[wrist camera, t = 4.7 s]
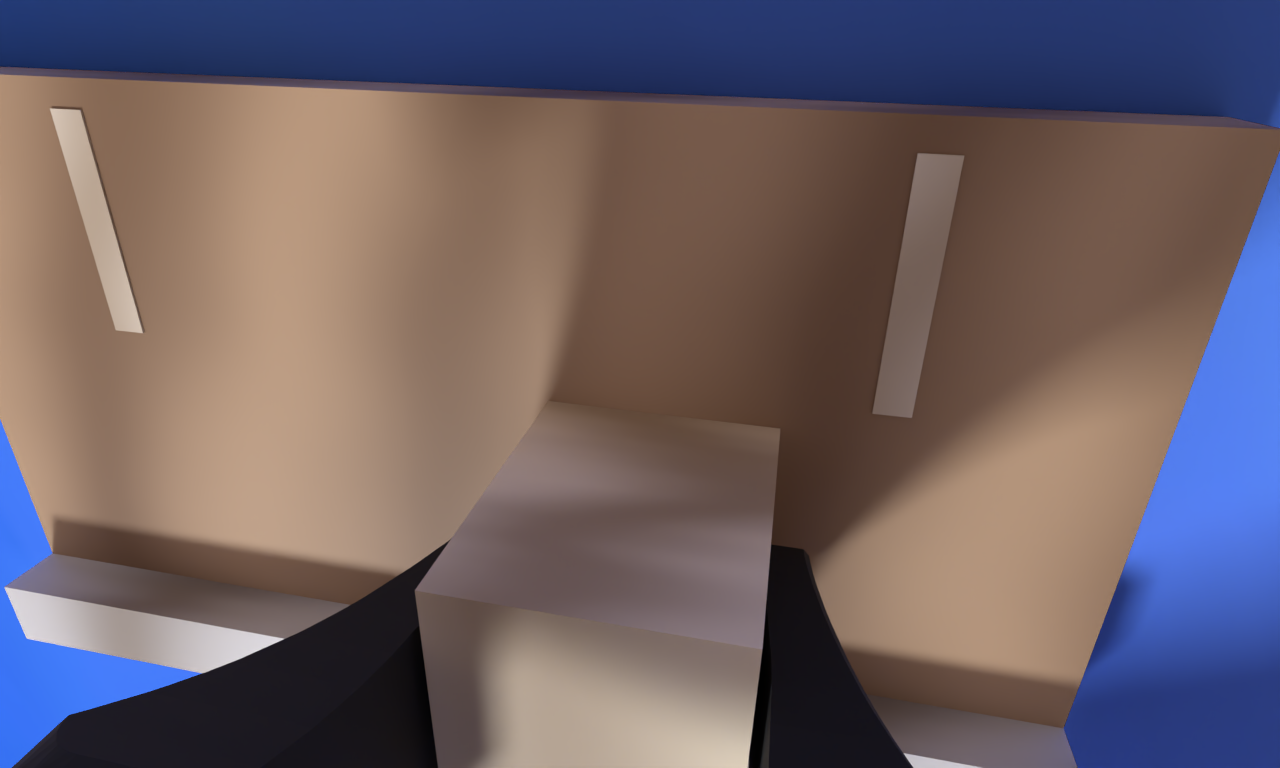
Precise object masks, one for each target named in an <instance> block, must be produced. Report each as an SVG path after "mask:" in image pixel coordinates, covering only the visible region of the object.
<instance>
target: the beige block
mask: <svg viewBox="0 0 1280 768" xmlns="http://www.w3.org/2000/svg"><path fill="white" fill-rule="evenodd" d="M779 441H780V429H779V428H771V427H763V426H754V425H746V424H738V423H729V422H721V421H712V420H704V419H696V418H687V417H679V416H670V415H662V414H654V413H645V412H637V411H628V410H620V409H612V408H603V407H595V406H587V405H578V404H570V403H561V402H553V401H548V402H547V404H546V405H545V407H544V408H543V410H542V411H541V412H540V414H539V415H538V417H537V418H536V419H535V421H534V422H533V424H532V425H531V427H530V428H529V429H528V431H527V432H526V434H525V435H524V436H523V438H522V439H521V441H520V442H519V444H518V445H517V446H516V448H515V449H514V451H513V452H512V453H511V455H510V456H509V458H508V459H507V461H506V462H505V463H504V465H503V466H502V468H501V469H500V470H499V472H498V473H497V475H496V476H495V478H494V479H493V480H492V482H491V483H490V485H489V486H488V487H487V489H486V490H485V492H484V493H483V495H482V496H481V497H480V499H479V500H478V502H477V503H476V504H475V506H474V507H473V509H472V510H471V512H470V513H469V514H468V516H467V517H466V519H465V520H464V521H463V523H462V524H461V526H460V527H459V529H458V530H457V531H456V533H455V534H454V536H453V537H452V538H451V540H450V541H449V543H448V544H447V546H446V547H445V548H444V550H443V551H442V553H441V554H440V555H439V557H438V558H437V560H436V561H435V563H434V564H433V565H432V567H431V568H430V570H429V571H428V572H427V574H426V575H425V577H424V578H423V580H422V581H421V582H420V584H419V585H418V587H417V588H416V589H415V596H416V604H417V611H418V619H419V627H420V634H421V642H422V649H423V657H424V664H425V672H426V680H427V687H428V695H429V702H430V710H431V717H432V725H433V733H434V740H435V748H436V755H437V763H438V768H747V767H748V759H749V751H750V743H751V735H752V728H753V720H754V712H755V704H756V696H757V688H758V680H759V673H760V665H761V657H762V649H763V637H764V624H765V612H766V600H767V588H768V575H769V563H770V551H771V539H772V526H773V514H774V502H775V490H776V478H777V465H778V453H779Z"/></svg>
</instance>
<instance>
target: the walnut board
mask: <svg viewBox="0 0 1280 768" xmlns="http://www.w3.org/2000/svg"><path fill="white" fill-rule="evenodd" d="M1279 151H1280V128H1276V127H1272V126H1267V125H1263V124H1258V123H1253V122H1249V121H1244V120H1240V119H1235V118H1231V117H1216V116H1192V115H1167V114H1143V113H1119V112H1094V111H1070V110H1045V109H1021V108H997V107H972V106H948V105H923V104H899V103H874V102H850V101H826V100H801V99H777V98H752V97H728V96H703V95H679V94H655V93H630V92H606V91H581V90H557V89H533V88H508V87H484V86H459V85H435V84H410V83H386V82H362V81H337V80H313V79H288V78H264V77H239V76H215V75H191V74H166V73H142V72H117V71H93V70H68V69H44V68H20V67H0V419H1V422H2V424H3V427H4V429H5V432H6V435H7V437H8V440H9V442H10V445H11V447H12V450H13V453H14V455H15V458H16V460H17V463H18V465H19V468H20V471H21V473H22V476H23V478H24V481H25V483H26V486H27V488H28V491H29V494H30V496H31V499H32V501H33V504H34V506H35V509H36V512H37V514H38V517H39V519H40V522H41V524H42V527H43V529H44V532H45V535H46V537H47V540H48V542H49V545H50V547H51V550H52V553H53V554H51V555H50V556H48V557H47V558H45V559H44V560H43V561H41V562H40V563H38V564H37V565H35V566H34V567H32V568H31V569H30V570H28V571H27V572H25V573H24V574H22V575H21V576H20V577H18V578H17V579H15V580H14V581H12V582H11V583H9V584H8V585H7V586H5V590H6V592H7V594H8V597H9V599H10V601H11V603H12V606H13V608H14V610H15V613H16V615H17V617H18V620H19V622H20V624H21V626H22V629H23V631H24V633H25V636H26V638H27V639H32V640H37V641H42V642H47V643H52V644H57V645H62V646H67V647H72V648H77V649H82V650H87V651H92V652H97V653H103V654H108V655H113V656H118V657H123V658H128V659H133V660H138V661H143V662H148V663H153V664H158V665H163V666H168V667H173V668H178V669H183V670H189V671H194V672H199V673H205V672H208V671H210V670H213V669H215V668H218V667H221V666H223V665H226V664H228V663H231V662H233V661H236V660H238V659H241V658H243V657H245V656H247V655H250V654H252V653H254V652H256V651H259V650H261V649H263V648H265V647H268V646H270V645H272V644H274V643H277V642H279V641H281V640H283V639H285V638H288V637H290V636H292V635H294V634H297V633H299V632H301V631H303V630H305V629H307V628H309V627H311V626H313V625H314V624H316V623H318V622H320V621H322V620H324V619H326V618H328V617H330V616H332V615H333V614H335V613H337V612H339V611H341V610H343V609H344V608H346V607H348V606H350V605H351V604H353V603H355V602H357V601H358V600H360V599H362V598H363V597H365V596H367V595H368V594H370V593H371V592H373V591H374V590H376V589H378V588H379V587H381V586H382V585H384V584H385V583H387V582H389V581H390V580H392V579H393V578H395V577H396V576H398V575H400V574H401V573H403V572H404V571H406V570H407V569H409V568H411V567H412V566H413V565H415V564H416V563H418V562H419V561H421V560H422V559H423V558H425V557H426V556H428V555H429V554H431V553H432V552H433V551H435V550H436V549H438V548H439V547H440V546H442V545H443V544H445V543H446V542H448V541H449V540H450V539H451V538H452V537H453V536H454V534H455V533H456V531H457V530H458V529H459V527H460V526H461V524H462V523H463V521H464V520H465V519H466V517H467V516H468V514H469V513H470V512H471V510H472V509H473V507H474V506H475V504H476V503H477V502H478V500H479V499H480V497H481V496H482V495H483V493H484V492H485V490H486V489H487V487H488V486H489V485H490V483H491V482H492V480H493V479H494V478H495V476H496V475H497V473H498V472H499V470H500V469H501V468H502V466H503V465H504V463H505V462H506V461H507V459H508V458H509V456H510V455H511V453H512V452H513V451H514V449H515V448H516V446H517V445H518V444H519V442H520V441H521V439H522V438H523V436H524V435H525V434H526V432H527V431H528V429H529V428H530V427H531V425H532V424H533V422H534V421H535V419H536V418H537V417H538V415H539V414H540V412H541V411H542V410H543V408H544V407H545V405H546V404H547V402H548V401H553V402H561V403H570V404H578V405H587V406H595V407H603V408H612V409H620V410H628V411H637V412H645V413H654V414H662V415H670V416H679V417H687V418H696V419H704V420H712V421H721V422H729V423H738V424H746V425H754V426H763V427H771V428H779V429H780V441H779V453H778V465H777V478H776V490H775V502H774V514H773V526H772V539H771V544H772V545H779V546H786V547H793V548H800V549H804V550H805V552H806V553H807V554H808V555H809V558H810V563H811V567H812V571H813V575H814V578H815V581H816V584H817V587H818V590H819V593H820V596H821V599H822V601H823V604H824V607H825V609H826V612H827V614H828V617H829V619H830V621H831V624H832V626H833V628H834V630H835V633H836V635H837V637H838V639H839V641H840V644H841V646H842V648H843V650H844V652H845V654H846V656H847V658H848V660H849V662H850V664H851V667H852V668H853V670H854V672H855V674H856V676H857V678H858V680H859V682H860V683H861V685H862V687H863V689H864V691H865V693H866V694H867V696H868V698H869V700H870V701H871V703H872V705H873V707H874V708H875V710H876V712H877V713H878V715H879V717H880V718H881V720H882V721H883V723H884V725H885V726H886V728H887V729H888V731H889V732H890V734H891V735H892V737H893V739H894V740H895V742H896V743H897V745H898V746H899V748H900V749H901V750H902V752H903V753H904V755H905V756H906V758H907V759H908V761H909V762H910V764H911V765H912V766H913V768H1077V765H1076V762H1075V759H1074V756H1073V754H1072V751H1071V748H1070V745H1069V742H1068V740H1067V737H1066V734H1065V731H1064V726H1065V723H1066V720H1067V718H1068V715H1069V712H1070V710H1071V707H1072V704H1073V702H1074V699H1075V696H1076V694H1077V691H1078V688H1079V686H1080V683H1081V680H1082V678H1083V675H1084V672H1085V670H1086V667H1087V664H1088V662H1089V659H1090V656H1091V653H1092V651H1093V648H1094V645H1095V643H1096V640H1097V637H1098V635H1099V632H1100V629H1101V627H1102V624H1103V621H1104V619H1105V616H1106V613H1107V611H1108V608H1109V605H1110V603H1111V600H1112V597H1113V595H1114V592H1115V589H1116V587H1117V584H1118V581H1119V579H1120V576H1121V573H1122V571H1123V568H1124V565H1125V563H1126V560H1127V557H1128V555H1129V552H1130V549H1131V547H1132V544H1133V541H1134V539H1135V536H1136V533H1137V531H1138V528H1139V525H1140V523H1141V520H1142V517H1143V515H1144V512H1145V509H1146V507H1147V504H1148V501H1149V499H1150V496H1151V493H1152V491H1153V488H1154V485H1155V482H1156V480H1157V477H1158V474H1159V472H1160V469H1161V466H1162V464H1163V461H1164V458H1165V456H1166V453H1167V450H1168V448H1169V445H1170V442H1171V440H1172V437H1173V434H1174V432H1175V429H1176V426H1177V424H1178V421H1179V418H1180V416H1181V413H1182V410H1183V408H1184V405H1185V402H1186V400H1187V397H1188V394H1189V392H1190V389H1191V386H1192V384H1193V381H1194V378H1195V376H1196V373H1197V370H1198V368H1199V365H1200V362H1201V360H1202V357H1203V354H1204V352H1205V349H1206V346H1207V344H1208V341H1209V338H1210V336H1211V333H1212V330H1213V328H1214V325H1215V322H1216V319H1217V317H1218V314H1219V311H1220V309H1221V306H1222V303H1223V301H1224V298H1225V295H1226V293H1227V290H1228V287H1229V285H1230V282H1231V279H1232V277H1233V274H1234V271H1235V269H1236V266H1237V263H1238V261H1239V258H1240V255H1241V253H1242V250H1243V247H1244V245H1245V242H1246V239H1247V237H1248V234H1249V231H1250V229H1251V226H1252V223H1253V221H1254V218H1255V215H1256V213H1257V210H1258V207H1259V205H1260V202H1261V199H1262V197H1263V194H1264V191H1265V189H1266V186H1267V183H1268V181H1269V178H1270V175H1271V173H1272V170H1273V167H1274V165H1275V162H1276V159H1277V157H1278V154H1279ZM747 768H749V759H748V767H747Z"/></svg>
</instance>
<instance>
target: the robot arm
mask: <svg viewBox="0 0 1280 768" xmlns="http://www.w3.org/2000/svg"><path fill="white" fill-rule="evenodd" d="M450 540H451V539H450ZM450 540H449V541H450ZM449 541H448V542H446V543H445V544H443V545H442V546H440V547H439V548H438V549H436V550H435V551H433V552H432V553H431V554H429V555H428V556H426V557H425V558H423V559H422V560H421V561H419V562H418V563H416V564H415V565H413V566H412V567H411V568H409V569H407V570H406V571H404V572H403V573H401V574H400V575H398V576H396V577H395V578H393V579H392V580H390V581H389V582H387V583H385V584H384V585H382V586H381V587H379V588H378V589H376V590H374V591H373V592H371V593H370V594H368V595H367V596H365V597H363V598H362V599H360V600H358V601H357V602H355V603H353V604H351V605H350V606H348V607H346V608H344V609H343V610H341V611H339V612H337V613H335V614H333V615H332V616H330V617H328V618H326V619H324V620H322V621H320V622H318V623H316V624H314V625H313V626H311V627H309V628H307V629H305V630H303V631H301V632H299V633H297V634H294V635H292V636H290V637H288V638H285V639H283V640H281V641H279V642H277V643H274V644H272V645H270V646H268V647H265V648H263V649H261V650H259V651H256V652H254V653H252V654H250V655H247V656H245V657H243V658H241V659H238V660H236V661H233V662H231V663H228V664H226V665H223V666H221V667H218V668H215V669H213V670H210V671H208V672H205V673H202V674H200V675H197V676H194V677H191V678H188V679H186V680H183V681H180V682H177V683H174V684H172V685H169V686H166V687H163V688H160V689H156V690H153V691H150V692H147V693H144V694H140V695H137V696H134V697H130V698H127V699H124V700H120V701H117V702H113V703H110V704H107V705H103V706H100V707H97V708H93V709H90V710H86V711H83V712H79V713H75V714H71V715H69V716H68V717H66V718H65V719H64V720H63V721H62V722H61V723H60V724H59V725H57V726H56V727H55V728H54V729H53V730H52V731H51V732H50V733H49V734H48V735H47V736H46V737H45V738H43V739H42V740H41V741H40V742H39V743H38V744H37V745H36V746H35V747H34V748H33V749H32V750H31V751H29V752H28V753H27V754H26V755H25V756H24V757H23V758H22V759H21V760H20V761H19V762H18V763H16V764H15V765H14V766H13V767H12V768H438V763H437V755H436V748H435V740H434V733H433V725H432V717H431V710H430V702H429V695H428V687H427V680H426V672H425V664H424V657H423V649H422V642H421V634H420V627H419V619H418V611H417V604H416V596H415V589H416V588H417V587H418V585H419V584H420V582H421V581H422V580H423V578H424V577H425V575H426V574H427V572H428V571H429V570H430V568H431V567H432V565H433V564H434V563H435V561H436V560H437V558H438V557H439V555H440V554H441V553H442V551H443V550H444V548H445V547H446V546H447V544H448V543H449ZM749 768H913V766H912V765H911V764H910V762H909V761H908V759H907V758H906V756H905V755H904V753H903V752H902V750H901V749H900V748H899V746H898V745H897V743H896V742H895V740H894V739H893V737H892V735H891V734H890V732H889V731H888V729H887V728H886V726H885V725H884V723H883V721H882V720H881V718H880V717H879V715H878V713H877V712H876V710H875V708H874V707H873V705H872V703H871V701H870V700H869V698H868V696H867V694H866V693H865V691H864V689H863V687H862V685H861V683H860V682H859V680H858V678H857V676H856V674H855V672H854V670H853V668H852V667H851V664H850V662H849V660H848V658H847V656H846V654H845V652H844V650H843V648H842V646H841V644H840V641H839V639H838V637H837V635H836V633H835V630H834V628H833V626H832V624H831V621H830V619H829V617H828V614H827V612H826V609H825V607H824V604H823V601H822V599H821V596H820V593H819V590H818V587H817V584H816V581H815V578H814V575H813V571H812V567H811V563H810V558H809V555H808V554H807V553H806V552H805V550H804V549H800V548H793V547H786V546H779V545H772V544H771V551H770V563H769V575H768V588H767V600H766V612H765V624H764V637H763V649H762V657H761V665H760V673H759V680H758V688H757V696H756V704H755V712H754V720H753V728H752V735H751V743H750V751H749Z"/></svg>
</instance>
